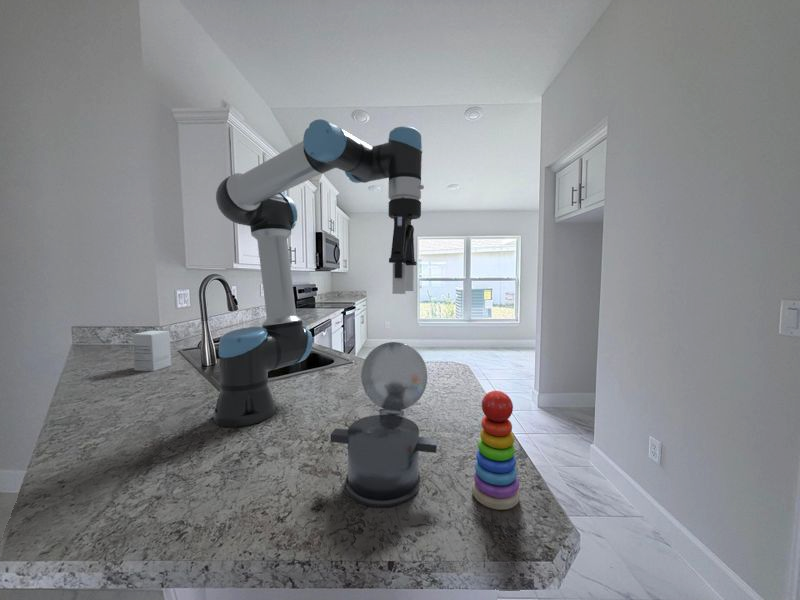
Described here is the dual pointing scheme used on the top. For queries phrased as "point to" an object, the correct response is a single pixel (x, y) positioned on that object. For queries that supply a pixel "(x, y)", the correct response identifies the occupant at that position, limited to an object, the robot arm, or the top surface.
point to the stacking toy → (496, 455)
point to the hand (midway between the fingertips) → (403, 292)
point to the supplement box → (151, 350)
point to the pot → (383, 459)
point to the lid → (394, 377)
